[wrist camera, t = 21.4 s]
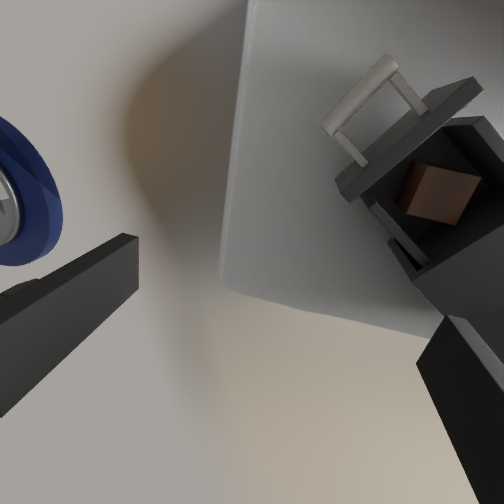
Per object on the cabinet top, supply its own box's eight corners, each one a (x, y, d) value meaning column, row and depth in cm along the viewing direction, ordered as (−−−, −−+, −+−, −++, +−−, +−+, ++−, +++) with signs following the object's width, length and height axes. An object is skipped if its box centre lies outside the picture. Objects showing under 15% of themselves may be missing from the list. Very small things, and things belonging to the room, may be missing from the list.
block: (393, 202, 26) (405, 214, 23) (411, 159, 25) (427, 165, 21) (436, 212, 26) (455, 226, 22) (458, 169, 24) (482, 176, 21)
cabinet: (386, 242, 30) (411, 281, 22) (497, 162, 25) (578, 177, 17) (452, 312, 32) (496, 370, 24) (568, 249, 27) (671, 298, 19)
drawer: (300, 143, 27) (296, 147, 21) (394, 43, 23) (423, 12, 16) (401, 250, 29) (424, 282, 23) (505, 179, 25) (567, 195, 19)
